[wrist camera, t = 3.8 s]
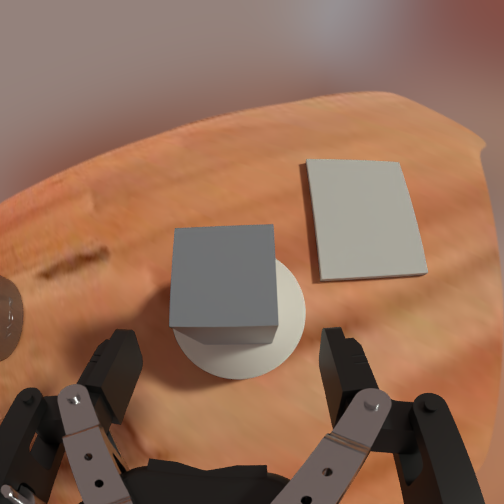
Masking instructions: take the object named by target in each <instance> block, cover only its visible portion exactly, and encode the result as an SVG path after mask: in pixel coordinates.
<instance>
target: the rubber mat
mask: <svg viewBox="0 0 504 504" xmlns="http://www.w3.org/2000/svg"><path fill="white" fill-rule="evenodd" d="M306 168H307V175H308V181H309V188H310V196H311V203H312V211H313V218H314V227H315V235H316V244H317V253H318V262H319V272H320V281H336V280H354V279H371V278H386V277H401V276H415V275H425V274H427V273H428V269H427V264H426V260H425V255H424V250H423V246H422V241H421V237H420V233H419V229H418V225H417V221H416V217H415V213H414V210H413V206H412V203H411V199H410V196H409V192H408V189H407V186H406V182H405V179H404V176H403V173H402V170H401V167H400V164H399V162H386V161H367V160H337V159H306Z"/></svg>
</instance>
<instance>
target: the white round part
mask: <svg viewBox="0 0 504 504" xmlns="http://www.w3.org/2000/svg"><path fill="white" fill-rule="evenodd" d="M275 261H276V280H277V301H278V322H279V326H278V328H277V331H276V334H275V337H274V339H273V342H272V343H270V344H231V345H204V344H202V343H200V342H198V341H196V340H194V339H192V338H190V337H188V336H186V335H184V334H182V333H180V332H178V331H176V330H175V329H173V331H174V335H175V338H176V340H177V342H178V344H179V346H180V348H181V349H182V351H183V352H184V353H185V355H186V356H187V357H188V358H189V359H190V360H191V361H192V362H193V363H194V364H195V365H197V366H198V367H200V368H201V369H202V370H204V371H206V372H208V373H210V374H213V375H215V376H218V377H222V378H227V379H248V378H253V377H257V376H260V375H263V374H266V373H267V372H269V371H271V370H273V369H275V368H276V367H278V366H279V365H280V364H282V363H283V362H284V361H285V360H286V359H287V358H288V357H289V356H290V354H291V353H292V352H293V351H294V349H295V347H296V346H297V344H298V342H299V340H300V338H301V336H302V332H303V329H304V324H305V302H304V297H303V294H302V291H301V288H300V286H299V284H298V282H297V280H296V279H295V277H294V276H293V274H292V273H291V272H290V271H289V269H287V268H286V267H285V266H284V265H283V264H282V263H281V262H280V261H278V260H277V259H275Z"/></svg>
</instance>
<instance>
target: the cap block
mask: <svg viewBox="0 0 504 504" xmlns="http://www.w3.org/2000/svg"><path fill="white" fill-rule="evenodd" d="M278 326H279V322H278V301H277V280H276V261H275V244H274V227H273V224H268V225H240V226H215V227H193V228H175V233H174V245H173V259H172V274H171V292H170V316H169V327H171V328H173V329H175V330H176V331H178V332H180V333H182V334H184V335H186V336H188V337H190V338H192V339H194V340H196V341H198V342H200V343H202V344H204V345H231V344H270V343H272V342H273V339H274V337H275V334H276V331H277V328H278Z"/></svg>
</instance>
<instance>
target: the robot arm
mask: <svg viewBox="0 0 504 504" xmlns="http://www.w3.org/2000/svg"><path fill="white" fill-rule="evenodd" d="M22 325H23V304H22V300H21V296H20V293H19V291H18V289H17V287H16V286H15V284H14V283H13V282H11V281H10V280H8V279H6V278H5V277H3V276H1V275H0V361H1V360H3V359H6V358H7V357H8V356H9V355H10V354H11V353H12V352H13V350H14V349H15V348H16V345H17V343H18V341H19V338H20V335H21V331H22ZM93 355H94V356H92V358H91V359H90V362H89V363H88V364H87V366H86V368H85V370H84V371H83V373H82V375H81V377H80V378H79V380H78V382H77V384H73V385H69V386H67V387H65V388H64V389H62V390H61V392H60V393H59V395H58V396H46V397H43V395H42V394H41V392H40V391H39V390H38V389H37V388H26V389H24V390H22V391H21V392H20V393H19V394H18V395H17V397H16V398H15V400H14V402H13V404H12V405H11V407H10V409H9V411H8V412H7V414H6V416H5V418H4V420H3V422H2V424H1V425H0V504H47V503H48V500H49V497H50V494H51V490H52V487H53V484H54V481H55V478H56V475H57V472H58V469H59V466H60V463H61V460H62V458H63V455H64V452H65V450H66V453H67V457H68V460H69V463H70V466H71V469H72V472H73V475H74V478H75V481H76V484H77V486H78V489H79V492H80V494H81V497H82V500H83V501H82V502H80V503H79V504H339V503H340V501H341V500H342V498H343V497H344V495H345V494H346V492H347V490H348V489H349V487H350V485H351V484H352V482H353V481H354V479H355V477H356V476H357V474H358V472H359V471H360V469H361V467H362V466H363V464H364V462H365V460H366V459H367V457H368V455H369V453H370V451H374V452H386V453H393V456H394V460H395V464H396V469H397V473H398V477H399V482H400V486H401V491H402V496H403V501H404V504H485V502H484V499H483V496H482V493H481V489H480V487H479V484H478V481H477V478H476V475H475V472H474V469H473V467H472V464H471V461H470V458H469V456H468V453H467V451H466V448H465V446H464V443H463V441H462V438H461V436H460V433H459V431H458V428H457V426H456V424H455V421H454V419H453V417H452V415H451V412H450V410H449V408H448V406H447V403H446V402H445V400H444V399H443V398H442V397H440V396H439V395H436V394H433V393H424V394H421V395H419V396H418V397H417V398H416V399H415V400H414V402H403V401H395V400H392V399H390V397H389V396H388V395H387V394H386V393H385V392H383V391H382V390H379V388H378V385H377V383H376V380H375V378H374V375H373V373H372V370H371V368H370V365H369V363H368V360H367V358H366V356H365V353H364V351H363V348H362V346H361V345H360V344H359V343H358V342H357V341H356V340H355V339H354V338H346V339H345V336H344V334H343V331H342V329H341V327H334V328H323V329H322V335H321V344H320V353H319V368H320V373H321V377H322V382H323V386H324V390H325V395H326V399H327V404H328V409H329V413H330V418H331V423H332V427H333V431H332V432H331V433H330V434H329V433H328V434H326V435H325V436H324V438H323V439H322V440H321V442H320V443H319V444H318V446H317V447H316V448H315V450H314V451H313V452H312V454H311V455H310V456H309V458H308V459H307V460H306V462H305V463H304V464H303V465H302V467H301V468H300V469H299V470H298V472H297V473H296V474H295V475H294V477H293V478H292V479H291V480H290V479H288V478H285V477H283V476H280V475H277V474H274V473H268V472H267V465H236V466H231V467H226V468H220V469H214V470H207V471H206V470H201V469H197V468H194V467H191V466H188V465H184V464H181V463H178V462H173V461H164V460H157V459H150V458H149V462H148V466H142V467H137V468H134V469H131V470H130V469H129V467H128V466H127V464H126V462H125V460H124V458H123V456H122V454H121V452H120V450H119V448H118V446H117V444H116V442H115V439H114V437H113V435H112V433H111V431H110V429H109V428H110V425H111V423H114V424H120V425H121V423H122V420H123V418H124V415H125V412H126V409H127V407H128V404H129V401H130V399H131V396H132V393H133V391H134V388H135V386H136V383H137V381H138V378H139V375H140V373H141V370H142V366H143V359H142V354H141V351H140V348H139V345H138V342H137V338H136V335H135V332H134V331H133V330H125V329H116V330H115V331H114V333H113V335H112V337H111V338H110V340H107V339H106V340H105V341H104V342H103V343H101V344H100V345H99V346H98V347H97V349H96V351H95V352H94V354H93ZM35 432H36V433H37V434H38V435H37V438H36V440H35V442H34V445H33V447H32V449H31V452H30V450H29V446H30V443H31V441H32V439H33V436H34V434H35Z"/></svg>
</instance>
